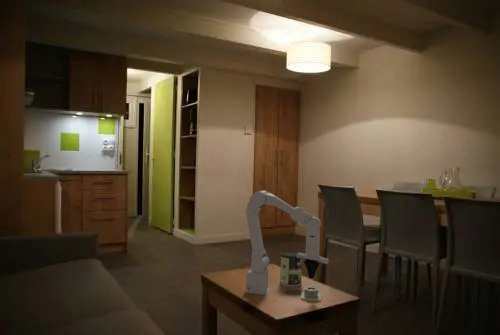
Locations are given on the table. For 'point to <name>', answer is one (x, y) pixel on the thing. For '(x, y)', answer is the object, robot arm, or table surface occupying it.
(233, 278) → the table surface
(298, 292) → the mat
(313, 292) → the ring
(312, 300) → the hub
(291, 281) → the coffee can
